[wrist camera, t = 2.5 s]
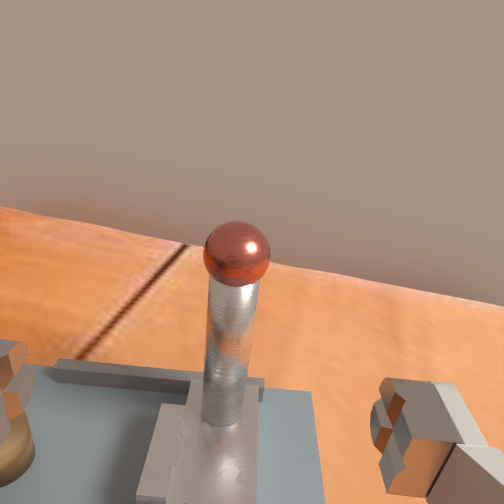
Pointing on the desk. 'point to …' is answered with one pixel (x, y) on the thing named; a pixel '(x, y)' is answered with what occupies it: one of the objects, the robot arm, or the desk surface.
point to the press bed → (146, 435)
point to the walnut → (16, 450)
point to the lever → (215, 389)
